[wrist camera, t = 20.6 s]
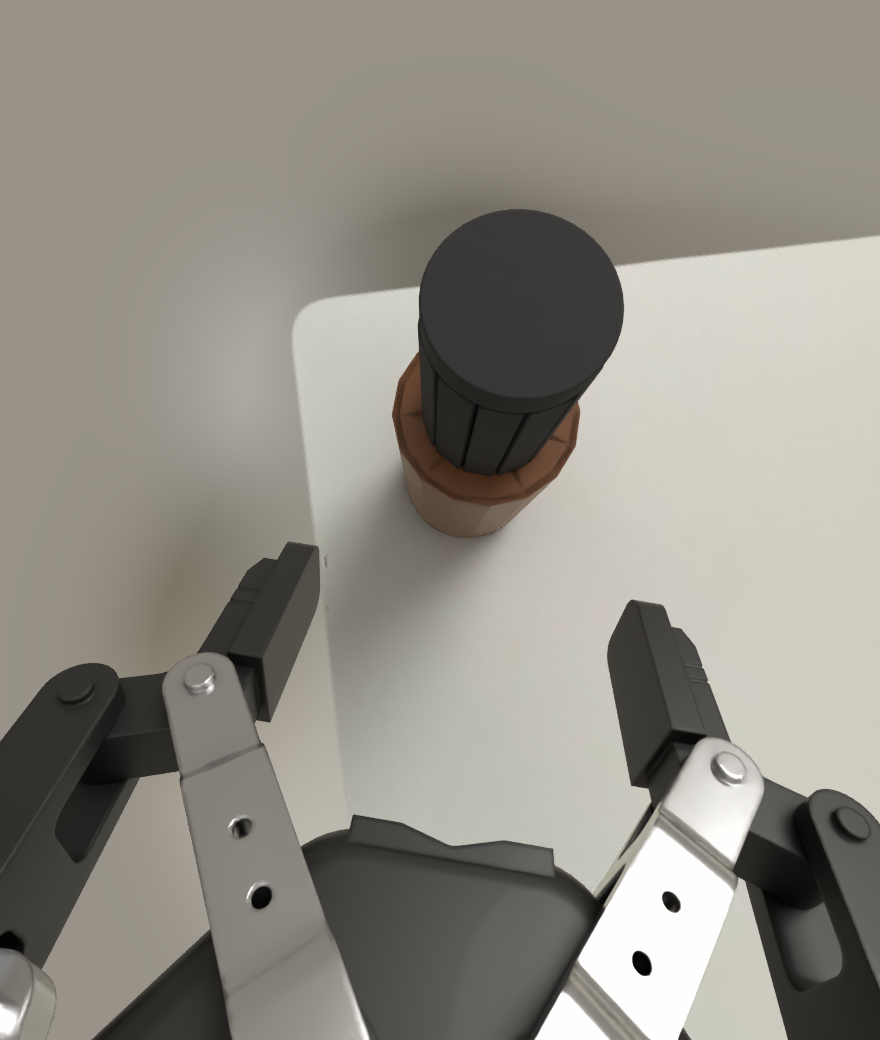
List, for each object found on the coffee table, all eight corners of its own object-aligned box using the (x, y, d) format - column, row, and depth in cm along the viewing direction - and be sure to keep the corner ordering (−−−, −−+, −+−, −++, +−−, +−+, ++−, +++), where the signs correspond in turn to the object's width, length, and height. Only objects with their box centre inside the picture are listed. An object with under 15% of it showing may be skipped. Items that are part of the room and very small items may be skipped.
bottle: (516, 547, 32) (621, 487, 14) (397, 526, 32) (355, 442, 14) (533, 432, 33) (650, 245, 15) (418, 413, 33) (404, 204, 16)
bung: (542, 485, 21) (611, 416, 13) (413, 463, 21) (401, 380, 13) (560, 363, 21) (635, 225, 13) (435, 342, 21) (437, 192, 13)
